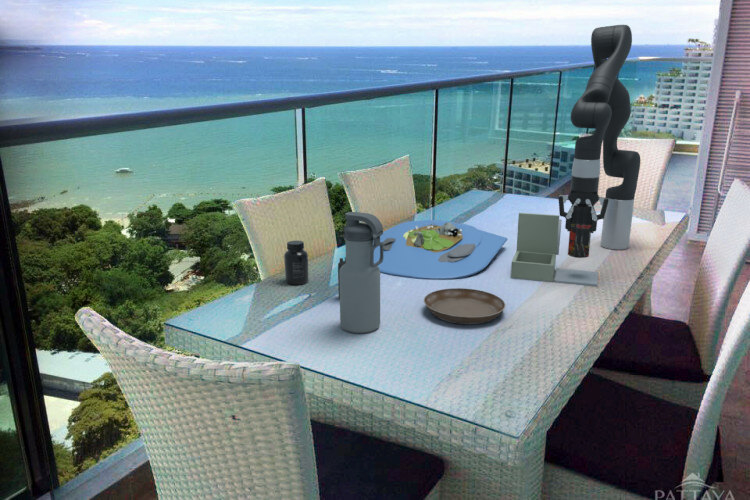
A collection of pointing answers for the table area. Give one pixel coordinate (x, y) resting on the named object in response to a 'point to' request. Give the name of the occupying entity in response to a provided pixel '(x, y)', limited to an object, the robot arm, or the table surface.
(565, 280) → the mat
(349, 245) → the water bottle
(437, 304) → the plant saucer
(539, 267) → the case
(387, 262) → the island diorama
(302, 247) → the supplement bottle
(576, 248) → the deodorant
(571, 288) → the table surface
